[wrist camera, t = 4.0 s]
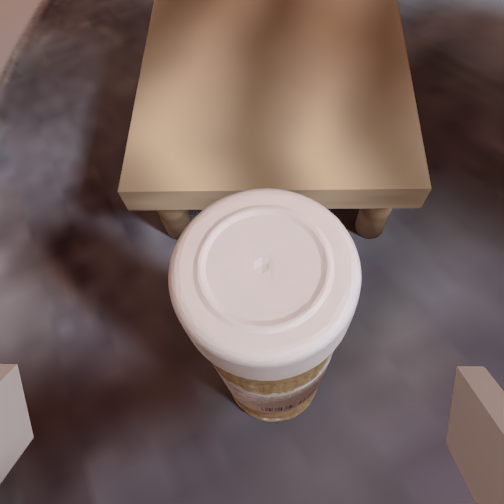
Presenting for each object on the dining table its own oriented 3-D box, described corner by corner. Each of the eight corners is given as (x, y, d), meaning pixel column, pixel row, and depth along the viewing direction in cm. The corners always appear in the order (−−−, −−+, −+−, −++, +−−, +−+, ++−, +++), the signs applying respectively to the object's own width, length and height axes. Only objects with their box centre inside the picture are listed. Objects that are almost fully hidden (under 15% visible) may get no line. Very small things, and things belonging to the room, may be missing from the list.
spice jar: (312, 327, 23) (347, 172, 11) (324, 420, 21) (385, 355, 9) (224, 335, 23) (164, 189, 11) (228, 428, 21) (161, 374, 9)
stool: (374, 69, 31) (394, -15, 26) (398, 249, 25) (431, 188, 19) (176, 75, 32) (155, -6, 26) (151, 250, 26) (117, 191, 20)
